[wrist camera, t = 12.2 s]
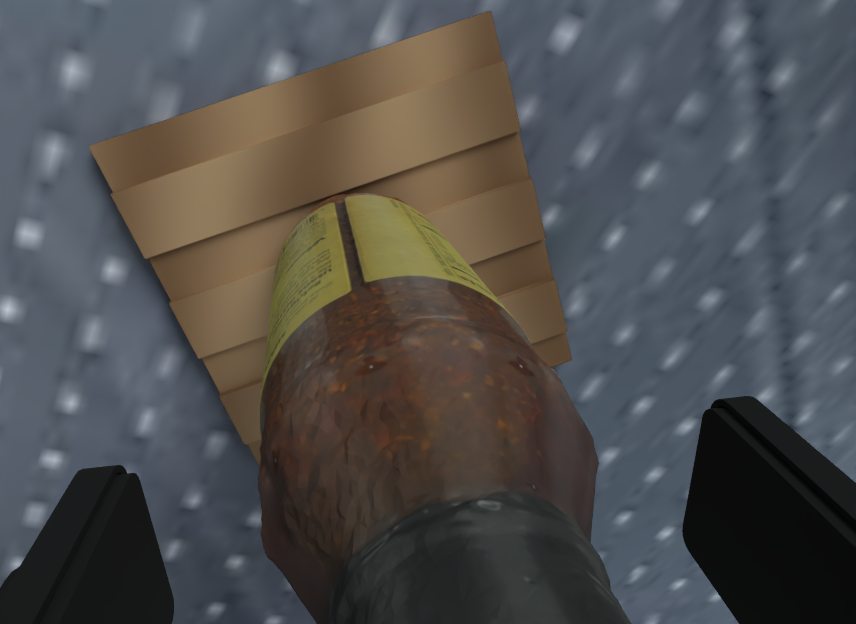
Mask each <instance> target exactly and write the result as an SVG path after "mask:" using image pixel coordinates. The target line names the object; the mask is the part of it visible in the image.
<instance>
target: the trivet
mask: <svg viewBox="0 0 856 624" xmlns="http://www.w3.org/2000/svg"><path fill="white" fill-rule="evenodd" d="M520 130H521V128H520V124H519V119H518V115H517V111H516V106H515V102H514V98H513V93H512V89H511V85H510V80H509V76H508V72H507V67H506V63H505V60H502V56H501V52H500V47H499V43H498V39H497V35H496V30H495V26H494V22H493V17H492V13H491V11H488V12H485V13H482V14H479V15H476V16H473V17H470V18H467V19H464V20H461V21H458V22H455V23H452V24H449V25H446V26H443V27H440V28H437V29H434V30H432V31H429V32H426V33H423V34H420V35H417V36H414V37H411V38H408V39H405V40H402V41H399V42H396V43H393V44H390V45H387V46H384V47H381V48H378V49H375V50H372V51H369V52H366V53H363V54H360V55H357V56H354V57H351V58H348V59H345V60H342V61H339V62H336V63H334V64H331V65H328V66H325V67H322V68H319V69H316V70H313V71H310V72H307V73H304V74H301V75H298V76H295V77H292V78H289V79H286V80H283V81H280V82H277V83H274V84H271V85H268V86H265V87H262V88H259V89H256V90H253V91H250V92H247V93H244V94H241V95H239V96H236V97H233V98H230V99H227V100H224V101H221V102H218V103H215V104H212V105H209V106H206V107H203V108H200V109H197V110H194V111H191V112H188V113H185V114H182V115H179V116H176V117H173V118H170V119H167V120H164V121H161V122H158V123H155V124H152V125H149V126H146V127H143V128H141V129H138V130H135V131H132V132H129V133H126V134H123V135H120V136H117V137H114V138H111V139H108V140H105V141H102V142H99V143H96V144H93V145H91V146H89V148H90V150H91V152H92V154H93V156H94V158H95V160H96V161H97V163H98V165H99V167H100V169H101V171H102V173H103V175H104V176H105V178H106V180H107V182H108V184H109V186H110V188H111V190H112V191H113V193H112V194H110V195H111V197H112V199H113V200H114V202H115V204H116V206H117V208H118V210H119V212H120V213H121V215H122V217H123V219H124V221H125V223H126V225H127V226H128V228H129V230H130V232H131V234H132V236H133V238H134V240H135V241H136V243H137V245H138V247H139V249H140V251H141V253H142V254H143V256H144V258H145V259H147V258H148V259H149V261H150V263H151V264H152V266H153V268H154V270H155V272H156V274H157V276H158V278H159V279H160V281H161V283H162V285H163V287H164V289H165V291H166V293H167V294H168V296H169V298H170V300H171V301H170V303H169V305H170V307H171V308H172V310H173V312H174V314H175V316H176V318H177V320H178V322H179V323H180V325H181V327H182V329H183V331H184V333H185V335H186V336H187V338H188V340H189V342H190V344H191V346H192V348H193V349H194V351H195V353H196V355H197V357H198V359H200V358H202V360H203V362H204V364H205V366H206V367H207V369H208V371H209V373H210V375H211V377H212V379H213V381H214V382H215V384H216V386H217V388H218V390H219V392H220V396H219V398H220V400H221V402H222V403H223V405H224V407H225V409H226V411H227V413H228V415H229V417H230V418H231V420H232V422H233V424H234V426H235V428H236V430H237V431H238V433H239V435H240V437H241V439H242V441H243V443H244V444H245V445H246V444H248V446H249V448H250V450H251V452H252V454H253V455H254V457H255V459H256V461H257V463H258V465H259V466H260V459H261V455H260V446H261V441H262V440H261V433H260V427H259V406H260V395H261V387H262V378H263V370H264V363H265V355H266V347H267V338H268V329H269V320H270V310H271V300H272V291H273V283H274V276H275V269H276V265H277V261H278V258H279V255H280V252H281V249H282V246H283V244H284V242H285V240H286V238H287V237H288V236H289V234H290V233H291V231H293V229H294V228H295V226H296V225H297V224H298V223H299V222H300V221H301V219H302V218H303V216H304V215H305V214H306V213H308V212H309V211H310V210H311V209H312V208H313V207H315V206H316V205H318V204H320V203H321V202H323V201H325V200H327V199H328V198H330V197H333V196H337V195H343V194H344V195H349V194H354V193H356V194H363V193H368V194H378V195H382V196H386V197H396V198H399V199H400V200H402V201H403V202H405V203H406V204H407V205H409V206H411V207H412V208H414V209H416V210H417V211H419V212H420V213H422V214H423V215H424V216H426V217H427V218H428V219H429V220H430V221H431V222H432V223H433V224H434V225H435V226H436V227H437V228H438V229H439V230H440V232H441V233H442V234H443V236H444V237H445V238H446V239H447V240H448V241H449V243H450V244H451V245H452V246H453V247H454V249H455V250H456V251H457V252H458V253H459V255H460V256H461V257H462V258H463V259H464V260H465V261H466V263H467V264H468V265H469V266H470V267H471V268H472V270H473V271H474V272H475V273H476V274H477V276H478V277H479V278H480V279H481V280H482V282H483V283H484V284H485V285H486V286H487V287H488V289H489V290H490V291H491V292H492V293H493V294H494V296H495V297H496V298H497V299H498V300H499V301H500V302H501V304H502V305H503V306H504V307H505V308H506V309H507V310H508V312H509V313H510V314H511V315H512V316H513V317H514V318H515V320H516V321H517V322H518V323H519V325H520V326H521V328H522V329H523V331H524V332H525V334H526V336H527V337H528V339H529V341H530V343H531V345H532V346H533V349H534V350H535V351H536V353H537V354H538V355H539V356H540V357H541V358H542V359H543V360H544V361H545V362H546V363H547V365H548V366H549V367H550V368H551V367H554V366H557V365H560V364H562V363H565V362H568V361H571V360H572V358H571V354H570V349H569V345H568V341H567V336H566V331H567V328H566V324H565V319H564V315H563V310H562V306H561V302H560V297H559V293H558V289H557V284H556V280H555V279H554V278H553V276H552V272H551V267H550V263H549V259H548V254H547V250H546V246H545V241H544V239H545V238H546V237H545V232H544V228H543V224H542V219H541V215H540V211H539V206H538V202H537V198H536V193H535V189H534V185H533V180H532V178H530V177H529V172H528V168H527V164H526V160H525V155H524V151H523V147H522V142H521V138H520V134H519V131H520Z"/></svg>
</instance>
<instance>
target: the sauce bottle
mask: <svg viewBox="0 0 856 624" xmlns="http://www.w3.org/2000/svg"><path fill="white" fill-rule="evenodd" d="M259 427H260V433H261V440H262V441H261V446H260V455H261V459H260V466H259V476H258V489H259V493H260V498H261V508H262V518H261V520H262V530H261V537H262V542H263V546H264V549H265V553H266V555H267V557H268V558H269V559H270V560H271V561H273V562H274V564H275V565H276V566H277V567H278V568H279V569H280V571H281V572H282V573H283V574H284V576H285V577H286V579H287V580H288V582H289V583H290V585H291V586H292V588H293V589H294V591H295V592H296V594H297V595H298V597H299V598H300V600H301V601H302V603H303V604H304V606H305V607H306V608H307V610H308V611H309V613H310V614H311V616H312V617H313V618H314V620H315V621H316V623H317V624H631V622H630V621H629V619H628V618H627V616H626V614H625V613H624V611H623V609H622V607H621V605H620V604H619V602H618V600H617V599H616V598H615V596H614V595H613V593H612V591H611V588H610V581H609V578H608V575H607V572H606V569H605V566H604V564H603V562H602V560H601V558H600V556H599V554H598V553H597V552H596V550H595V549H594V548H593V546H592V545H591V543H590V540H591V528H592V517H593V505H594V494H595V482H596V473H597V468H598V464H599V462H598V458H597V454H596V451H595V448H594V444H593V438H592V436H591V434H590V432H589V430H588V428H587V427H586V425H585V423H584V421H583V420H582V418H581V416H580V415H579V413H578V411H577V410H576V408H575V406H574V404H573V403H572V401H571V399H570V398H569V396H568V394H567V392H566V390H565V388H564V386H563V385H562V382H561V380H560V379H559V378H558V376H557V372H556V371H555V370H554V369H552V368H550V367H549V366H548V365H547V363H546V362H545V361H544V360H543V359H542V358H541V357H540V356H539V355H538V354H537V353H536V351H535V350H534V349H533V346H532V345H531V343H530V341H529V339H528V337H527V336H526V334H525V332H524V331H523V329H522V328H521V326H520V325H519V323H518V322H517V321H516V320H515V318H514V317H513V316H512V315H511V314H510V313H509V312H508V310H507V309H506V308H505V307H504V306H503V305H502V304H501V302H500V301H499V300H498V299H497V298H496V297H495V296H494V294H493V293H492V292H491V291H490V290H489V289H488V287H487V286H486V285H485V284H484V283H483V282H482V280H481V279H480V278H479V277H478V276H477V274H476V273H475V272H474V271H473V270H472V268H471V267H470V266H469V265H468V264H467V263H466V261H465V260H464V259H463V258H462V257H461V256H460V255H459V253H458V252H457V251H456V250H455V249H454V247H453V246H452V245H451V244H450V243H449V241H448V240H447V239H446V238H445V237H444V236H443V234H442V233H441V232H440V230H439V229H438V228H437V227H436V226H435V225H434V224H433V223H432V222H431V221H430V220H429V219H428V218H427V217H426V216H424V215H423V214H422V213H420V212H419V211H417V210H416V209H414V208H412V207H411V206H409V205H407V204H406V203H405V202H403V201H402V200H400V199H399V198H396V197H386V196H382V195H378V194H368V193H363V194H356V193H354V194H349V195H344V194H343V195H337V196H333V197H330V198H328V199H327V200H325V201H323V202H321V203H320V204H318V205H316V206H315V207H313V208H312V209H311V210H310V211H309V212H308V213H306V214H305V215H304V216H303V218H302V219H301V221H300V222H299V223H298V224H297V225H296V226H295V228H294V229H293V231H291V233H290V234H289V236H288V237H287V238H286V240H285V242H284V244H283V246H282V249H281V252H280V255H279V258H278V261H277V265H276V269H275V276H274V283H273V291H272V300H271V310H270V320H269V329H268V338H267V347H266V355H265V363H264V370H263V378H262V387H261V395H260V406H259Z"/></svg>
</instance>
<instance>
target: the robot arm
mask: <svg viewBox="0 0 856 624" xmlns="http://www.w3.org/2000/svg"><path fill="white" fill-rule="evenodd" d="M682 532H683V538H684V542H685V545H686V547H687V549H688V550H689V552H690V554H691V555H692V556H693V558H694V559H695V561H696V562H697V564H698V565H699V566H700V568H701V569H702V571H703V572H704V574H705V575H706V577H707V578H708V579H709V581H710V582H711V584H712V585H713V587H714V588H715V590H716V591H717V592H718V594H719V595H720V597H721V598H722V600H723V601H724V602H725V604H726V605H727V607H728V608H729V610H730V611H731V613H732V614H733V615H734V617H735V618H736V620H737V621H738V623H739V624H856V483H855V482H854V481H853V480H852V479H851V478H849V477H848V476H847V475H846V474H845V473H843V472H842V471H841V470H840V469H839V468H837V467H836V466H835V465H834V464H833V463H832V462H830V461H829V460H828V459H827V458H826V457H824V456H823V455H822V454H821V453H820V452H819V451H817V450H816V449H815V448H814V447H813V446H811V445H810V444H809V443H808V442H807V441H806V440H804V439H803V438H802V437H801V436H800V435H798V434H797V433H796V432H795V431H794V430H793V429H791V428H790V427H789V426H788V425H787V424H785V423H784V422H783V421H782V420H781V419H780V418H778V417H777V416H776V415H775V414H774V413H772V412H771V411H770V410H769V409H768V408H766V407H765V406H764V405H763V404H762V403H761V402H759V401H758V400H757V399H755V398H754V397H750V396H744V397H735V398H726V399H718V400H716V401H714V403H713V404H712V406H711V409H708V410H706V411H705V412H704V414H703V417H702V423H701V428H700V434H699V439H698V445H697V450H696V456H695V461H694V467H693V473H692V478H691V484H690V489H689V495H688V500H687V506H686V511H685V517H684V522H683V530H682ZM173 614H174V600H173V595H172V591H171V588H170V584H169V581H168V577H167V574H166V570H165V567H164V563H163V560H162V556H161V553H160V549H159V546H158V542H157V539H156V535H155V532H154V528H153V525H152V521H151V518H150V514H149V511H148V507H147V504H146V500H145V497H144V493H143V490H142V486H141V483H140V480H139V477H138V476H137V474H135V473H129V474H127V472H126V470H125V468H124V467H123V466H121V465H115V466H105V467H96V468H87V469H82V470H79V471H78V472H77V474H76V475H75V476H74V478H73V480H72V481H71V483H70V484H69V486H68V488H67V489H66V491H65V493H64V494H63V496H62V498H61V499H60V501H59V503H58V504H57V506H56V508H55V509H54V511H53V513H52V514H51V516H50V518H49V519H48V521H47V522H46V524H45V526H44V527H43V529H42V531H41V532H40V534H39V536H38V537H37V539H36V541H35V542H34V544H33V546H32V547H31V549H30V551H29V552H28V554H27V556H26V557H25V559H24V560H23V562H22V564H21V565H20V567H18V568H17V569H15V570H14V571H12V572H11V574H10V575H9V576H8V577H7V579H6V580H5V581H4V583H3V584H2V586H1V588H0V624H172V620H173Z"/></svg>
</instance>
